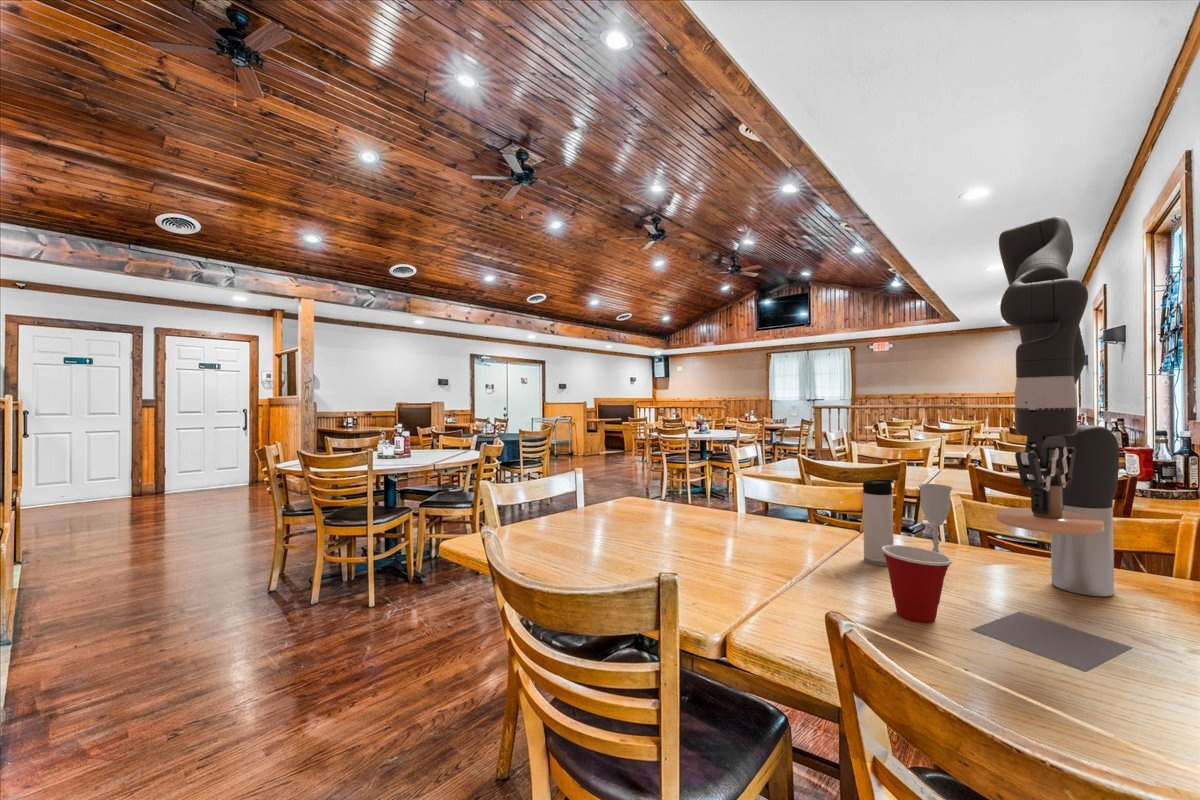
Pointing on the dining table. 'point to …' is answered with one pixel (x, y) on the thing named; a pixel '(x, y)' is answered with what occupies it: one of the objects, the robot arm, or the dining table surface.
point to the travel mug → (877, 520)
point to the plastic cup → (916, 580)
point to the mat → (1053, 640)
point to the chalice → (935, 507)
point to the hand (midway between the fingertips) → (1047, 511)
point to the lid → (1051, 518)
